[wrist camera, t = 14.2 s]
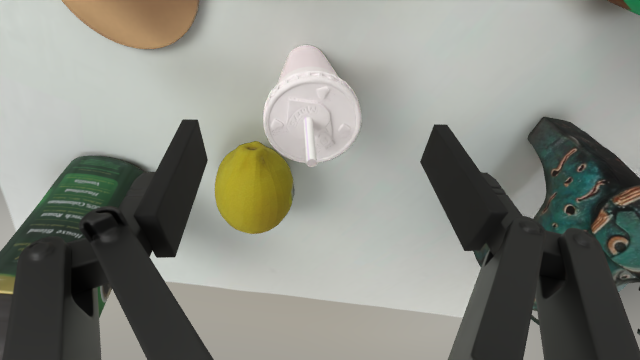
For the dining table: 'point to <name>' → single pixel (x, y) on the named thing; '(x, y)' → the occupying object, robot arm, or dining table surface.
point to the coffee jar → (65, 217)
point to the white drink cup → (311, 110)
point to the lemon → (254, 188)
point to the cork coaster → (137, 20)
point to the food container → (628, 5)
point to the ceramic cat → (588, 196)
